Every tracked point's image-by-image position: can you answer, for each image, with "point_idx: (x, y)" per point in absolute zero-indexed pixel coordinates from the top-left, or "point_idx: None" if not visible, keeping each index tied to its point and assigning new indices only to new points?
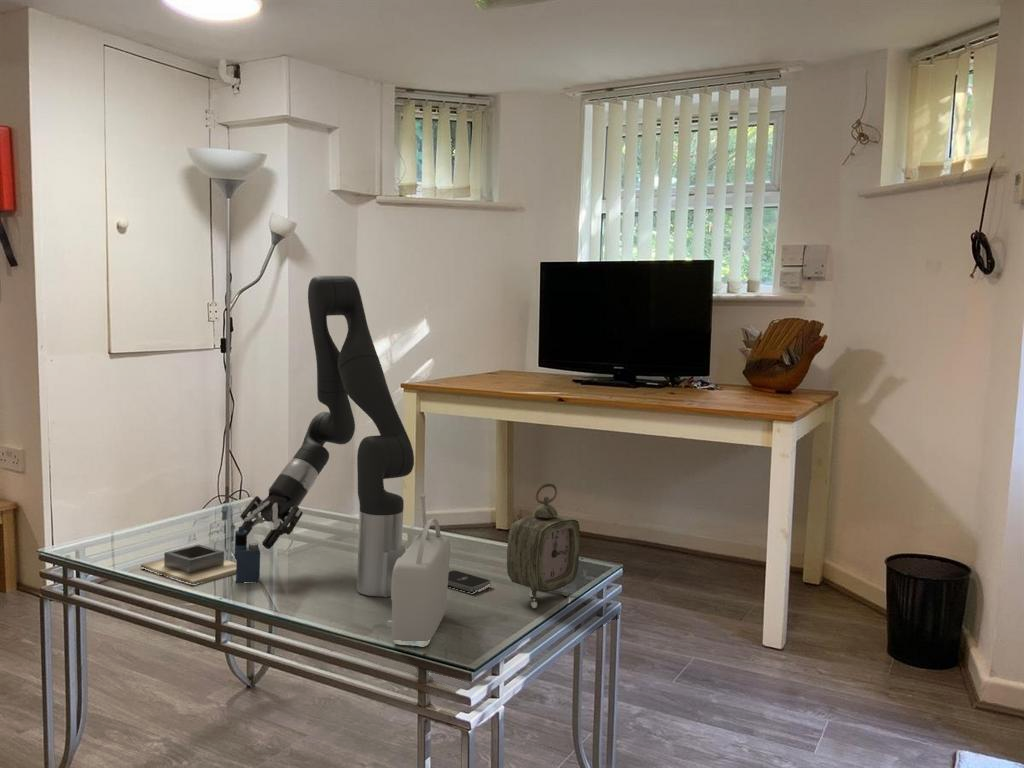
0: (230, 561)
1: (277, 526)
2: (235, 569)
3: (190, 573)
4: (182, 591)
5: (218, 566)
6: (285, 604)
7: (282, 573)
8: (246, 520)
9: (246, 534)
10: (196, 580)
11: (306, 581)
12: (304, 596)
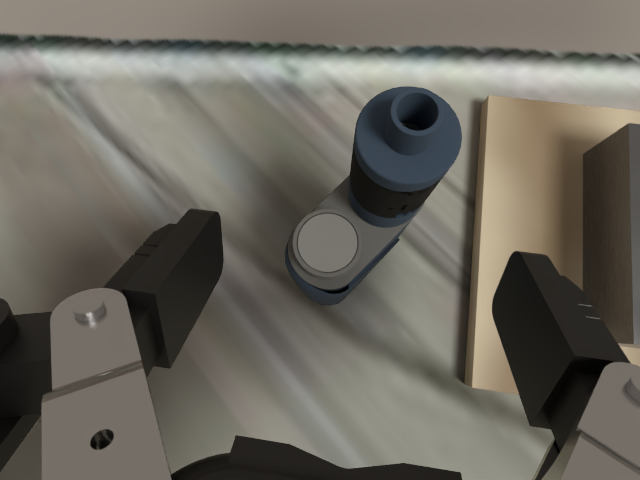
0: None
1: (62, 313)
2: (476, 314)
3: (583, 157)
4: (464, 51)
5: None
6: (47, 140)
7: None
8: (617, 376)
9: (358, 163)
10: (487, 111)
11: None
12: (27, 243)
